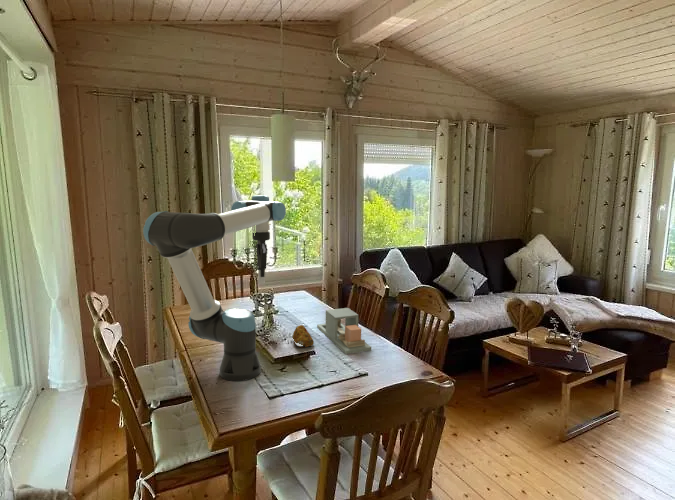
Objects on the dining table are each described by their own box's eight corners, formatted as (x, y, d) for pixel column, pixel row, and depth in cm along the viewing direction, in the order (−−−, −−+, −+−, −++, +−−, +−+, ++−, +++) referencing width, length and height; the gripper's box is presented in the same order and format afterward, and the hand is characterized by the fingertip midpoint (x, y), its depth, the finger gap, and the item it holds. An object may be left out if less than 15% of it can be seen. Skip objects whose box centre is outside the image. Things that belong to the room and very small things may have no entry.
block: (361, 342, 184) (361, 328, 183) (350, 343, 182) (350, 330, 181) (355, 337, 189) (355, 324, 188) (344, 339, 187) (345, 325, 186)
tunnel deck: (371, 350, 183) (371, 323, 181) (345, 354, 178) (346, 326, 176) (339, 324, 216) (339, 301, 214) (317, 327, 211) (317, 304, 209)
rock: (312, 351, 192) (317, 341, 184) (295, 357, 188) (300, 347, 180) (301, 330, 197) (306, 319, 189) (285, 335, 193) (289, 325, 185)
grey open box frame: (364, 345, 183) (364, 333, 183) (348, 347, 181) (348, 335, 180) (341, 326, 207) (341, 316, 207) (326, 328, 205) (326, 317, 204)
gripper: (273, 232, 181) (273, 286, 184) (266, 229, 193) (267, 279, 196) (255, 232, 178) (256, 287, 182) (249, 229, 190) (250, 281, 194)
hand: (261, 283), depth 189 cm, fingers closed
